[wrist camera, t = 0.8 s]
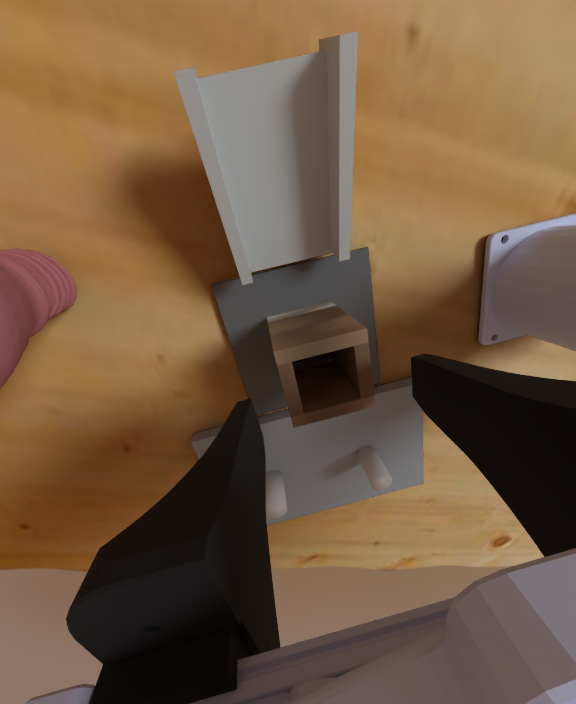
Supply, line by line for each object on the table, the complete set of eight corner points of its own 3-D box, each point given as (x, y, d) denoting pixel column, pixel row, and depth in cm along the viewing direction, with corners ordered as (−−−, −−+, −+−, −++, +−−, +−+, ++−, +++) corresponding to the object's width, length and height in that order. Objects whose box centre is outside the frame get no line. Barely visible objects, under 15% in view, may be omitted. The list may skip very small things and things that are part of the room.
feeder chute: (315, 84, 13) (354, -15, 8) (338, 257, 16) (376, 263, 11) (196, 111, 13) (160, 26, 8) (243, 279, 16) (239, 297, 11)
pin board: (414, 376, 21) (448, 404, 18) (417, 474, 26) (445, 513, 22) (193, 433, 21) (180, 474, 17) (234, 523, 25) (231, 572, 21)
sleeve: (331, 301, 18) (367, 328, 12) (340, 359, 19) (375, 406, 14) (267, 317, 18) (273, 351, 12) (281, 374, 19) (293, 427, 14)
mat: (365, 247, 17) (368, 247, 17) (377, 380, 21) (380, 383, 21) (212, 284, 17) (211, 285, 16) (254, 412, 21) (254, 415, 20)
